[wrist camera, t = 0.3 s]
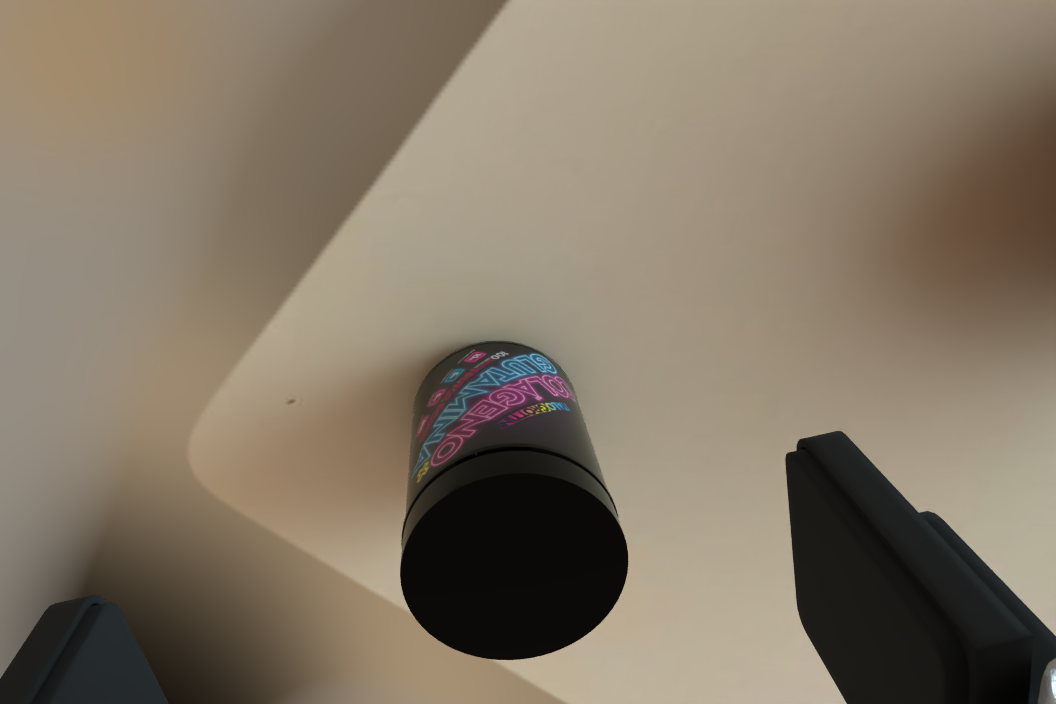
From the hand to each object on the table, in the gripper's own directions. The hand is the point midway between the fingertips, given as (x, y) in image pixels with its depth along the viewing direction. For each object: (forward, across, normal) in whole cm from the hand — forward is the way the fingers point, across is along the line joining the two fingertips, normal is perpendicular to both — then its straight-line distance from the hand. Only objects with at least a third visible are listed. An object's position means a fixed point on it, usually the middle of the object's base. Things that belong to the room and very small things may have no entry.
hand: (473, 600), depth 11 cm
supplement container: (+21, 0, +8) cm, 22 cm away
